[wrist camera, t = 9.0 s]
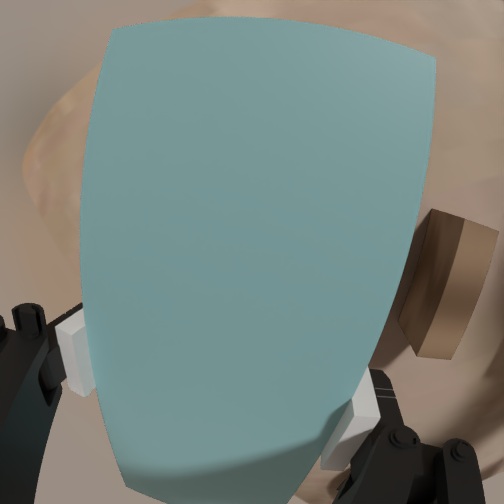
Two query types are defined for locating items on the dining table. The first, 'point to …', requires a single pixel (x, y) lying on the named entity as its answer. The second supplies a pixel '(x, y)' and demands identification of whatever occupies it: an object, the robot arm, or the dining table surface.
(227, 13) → the dining table surface
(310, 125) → the shelf board
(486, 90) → the dining table surface
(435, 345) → the blocks
